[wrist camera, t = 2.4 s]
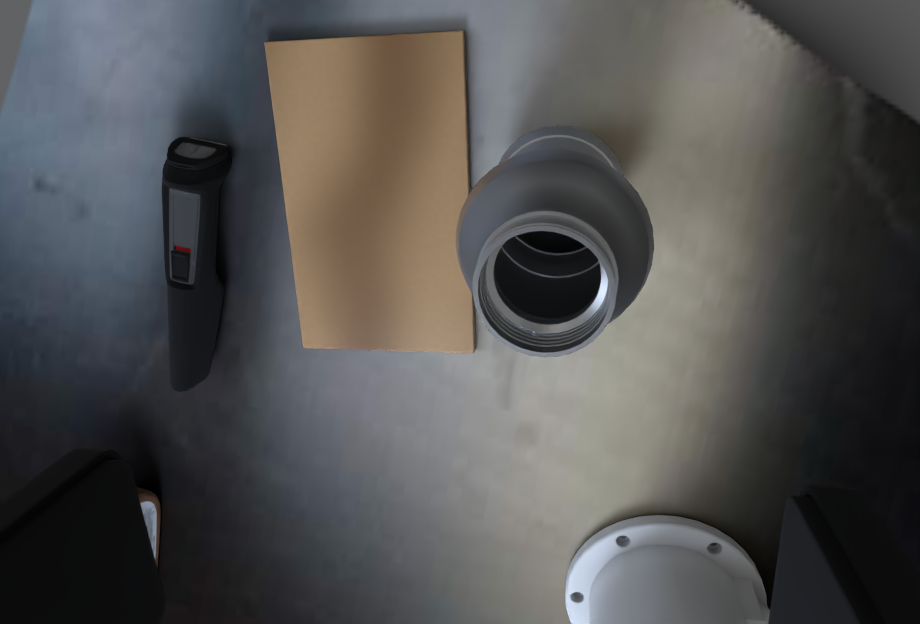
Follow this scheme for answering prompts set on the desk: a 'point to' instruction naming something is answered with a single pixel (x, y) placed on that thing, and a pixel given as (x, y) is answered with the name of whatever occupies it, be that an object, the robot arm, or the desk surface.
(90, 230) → the desk surface
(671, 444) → the desk surface
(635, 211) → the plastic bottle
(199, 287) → the electric trimmer
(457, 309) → the wooden board
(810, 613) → the robot arm
